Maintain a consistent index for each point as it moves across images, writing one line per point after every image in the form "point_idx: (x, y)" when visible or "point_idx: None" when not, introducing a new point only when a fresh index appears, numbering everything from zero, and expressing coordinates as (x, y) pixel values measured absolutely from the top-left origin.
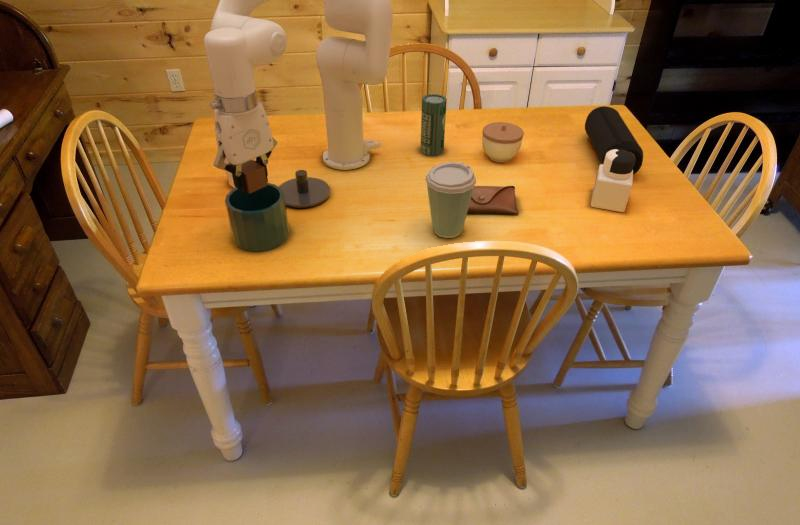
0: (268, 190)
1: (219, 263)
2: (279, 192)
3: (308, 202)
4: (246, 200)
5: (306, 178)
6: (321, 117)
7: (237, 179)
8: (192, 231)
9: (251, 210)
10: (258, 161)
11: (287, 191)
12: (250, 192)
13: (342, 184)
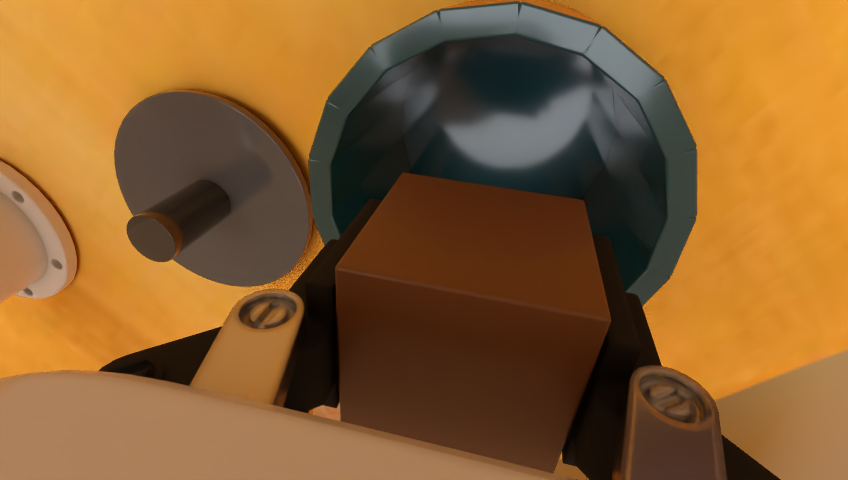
0: None
1: (773, 125)
2: (343, 127)
3: (234, 125)
4: None
5: (154, 205)
6: None
7: (653, 354)
8: None
9: None
10: (322, 374)
11: (257, 241)
12: (576, 200)
13: (73, 124)
